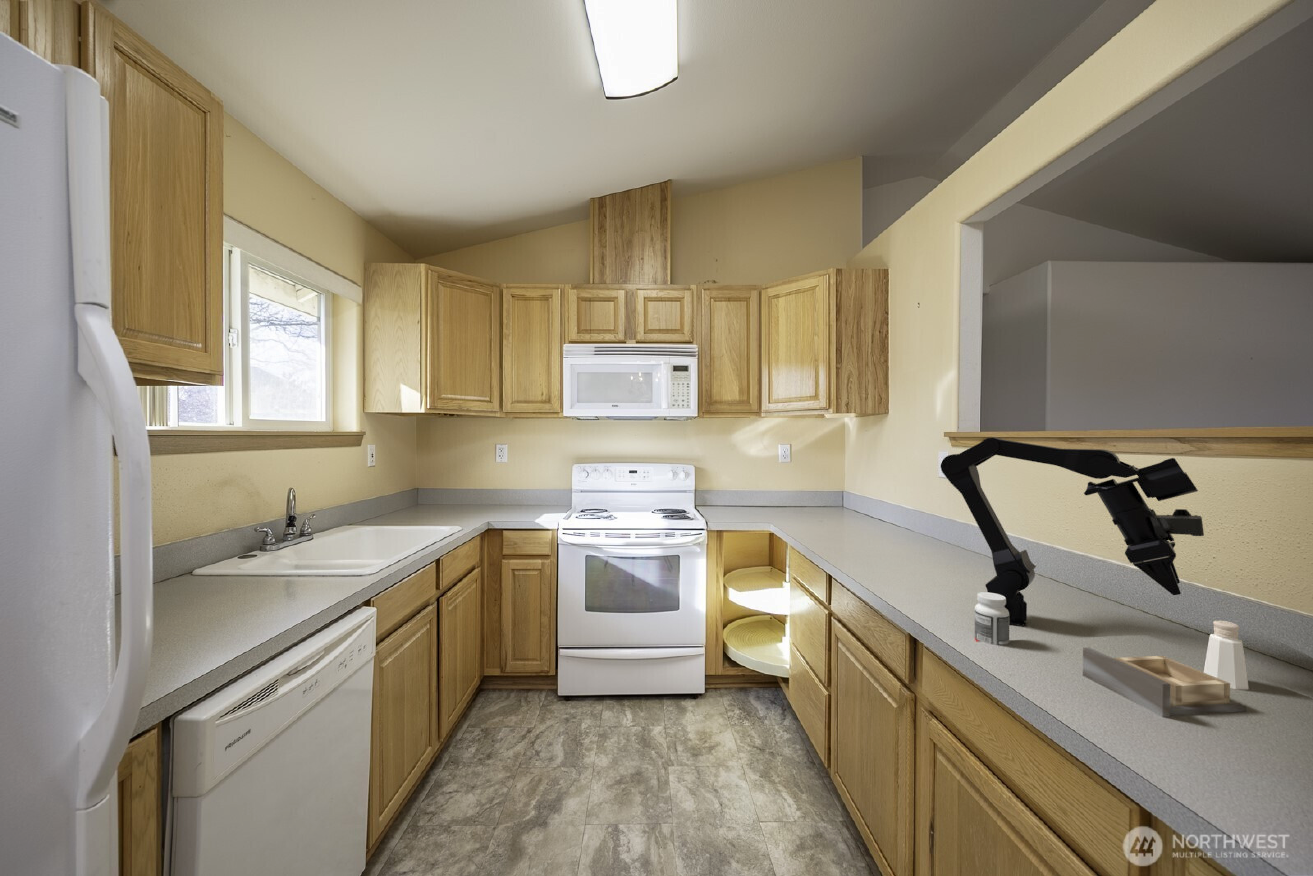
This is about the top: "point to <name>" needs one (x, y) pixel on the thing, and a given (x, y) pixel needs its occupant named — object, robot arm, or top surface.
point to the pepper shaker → (1226, 655)
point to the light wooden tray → (1183, 681)
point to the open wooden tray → (1141, 686)
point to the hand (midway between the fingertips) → (1176, 588)
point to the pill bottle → (991, 619)
